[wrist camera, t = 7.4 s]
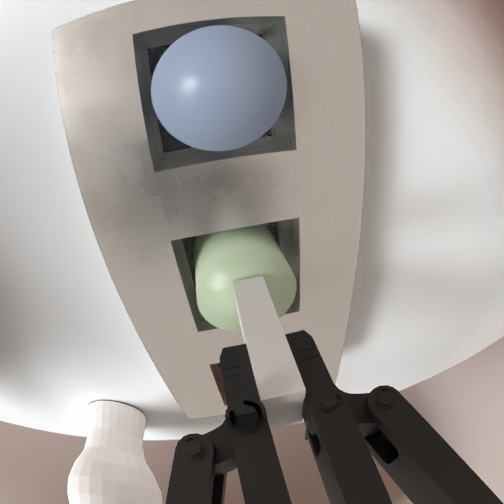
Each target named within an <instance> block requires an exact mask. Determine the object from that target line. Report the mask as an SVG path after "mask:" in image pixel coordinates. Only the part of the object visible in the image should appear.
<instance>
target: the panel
mask: <svg viewBox="0 0 504 504" xmlns="http://www.w3.org/2000/svg"><path fill="white" fill-rule="evenodd" d="M215 25H226V26H234V27H239V28H242V29H245V30H248V31H250V32H252V33H254V34H256V35H258V34H262V39H264V40H265V41H266V42H267V43H268V44H269V45H270V46H271V47H272V48H273V49H274V50H275V52H276V53H277V55H278V56H279V58H280V60H281V62H282V64H283V66H284V70H285V73H286V79H287V94H286V100H285V103H284V107H283V109H282V111H281V114H280V115H279V117H278V119H277V120H276V122H275V123H274V124H273V126H272V127H271V134H272V136H266V137H260V138H258V139H257V140H255V141H254V142H252V143H250V144H248V145H246V146H243V147H240V148H237V149H233V150H228V151H207V150H201V149H197V148H194V147H192V148H186V149H181V150H176V151H171V152H166V153H163V147H162V142H161V137H160V131H159V125H158V119H157V115H156V113H155V110H154V107H153V103H152V98H151V82H152V80H151V73H150V65H149V57H148V49H152V48H156V47H161V46H166V45H171V44H173V43H174V42H175V41H176V40H178V39H179V38H180V37H182V36H184V35H185V34H187V33H189V32H192V31H194V30H196V29H200V28H203V27H208V26H215ZM52 32H53V49H54V61H55V71H56V79H57V87H58V94H59V100H60V106H61V112H62V117H63V123H64V128H65V133H66V137H67V142H68V146H69V150H70V155H71V159H72V163H73V166H74V170H75V174H76V178H77V181H78V185H79V188H80V191H81V195H82V198H83V201H84V204H85V208H86V211H87V214H88V217H89V220H90V223H91V225H92V228H93V231H94V234H95V237H96V239H97V242H98V245H99V247H100V250H101V253H102V255H103V258H104V260H105V263H106V265H107V268H108V270H109V273H110V275H111V277H112V280H113V282H114V284H115V287H116V289H117V291H118V293H119V296H120V298H121V300H122V302H123V304H124V306H125V309H126V311H127V313H128V315H129V317H130V319H131V321H132V323H133V325H134V327H135V329H136V331H137V333H138V335H139V337H140V339H141V341H142V343H143V344H144V346H145V348H146V350H147V352H148V354H149V356H150V357H151V359H152V361H153V363H154V364H155V366H156V368H157V370H158V371H159V373H160V375H161V377H162V378H163V380H164V382H165V383H166V385H167V387H168V388H169V390H170V392H171V393H172V395H173V396H174V398H175V399H176V401H177V403H178V404H179V406H180V407H181V409H182V410H183V412H184V413H185V415H186V416H187V418H188V419H189V420H190V419H198V418H205V417H212V416H219V415H225V414H226V409H227V402H226V396H225V390H224V384H223V378H222V372H221V367H218V364H217V363H220V359H219V358H220V355H221V352H222V349H223V348H225V347H231V346H236V345H241V344H245V343H244V339H243V335H242V332H231V331H226V330H223V329H220V328H217V327H215V326H214V325H212V324H211V323H209V322H208V321H207V320H206V319H205V318H204V317H203V316H202V314H201V312H200V311H199V308H198V304H197V296H196V288H195V287H194V283H193V279H192V276H191V272H190V268H189V264H188V260H187V256H186V252H185V248H184V244H183V240H182V239H183V238H188V237H193V236H198V235H204V234H209V233H214V232H220V231H225V230H231V229H236V228H242V227H247V226H253V225H259V224H264V223H270V222H276V221H278V231H279V248H280V250H281V251H282V253H283V255H284V257H285V259H286V261H287V262H288V264H289V266H290V268H291V270H292V272H293V274H294V276H295V279H296V286H297V288H296V295H295V298H294V301H293V303H292V304H291V306H290V308H289V309H288V310H287V312H286V313H285V314H284V315H283V316H282V317H280V318H279V320H280V323H281V325H282V328H283V331H284V333H285V334H289V333H293V332H297V331H301V330H305V331H306V332H307V333H308V334H309V335H311V336H312V337H313V339H314V341H315V343H316V346H317V349H318V350H319V352H320V354H321V356H322V359H323V361H324V363H325V365H326V367H327V369H328V372H329V374H330V376H331V378H332V380H333V383H334V384H335V382H336V378H337V374H338V369H339V365H340V361H341V356H342V351H343V346H344V341H345V336H346V331H347V326H348V320H349V315H350V309H351V303H352V296H353V290H354V283H355V276H356V268H357V261H358V252H359V243H360V233H361V222H362V210H363V196H364V177H365V137H366V127H365V88H364V70H363V57H362V46H361V36H360V27H359V19H358V12H357V5H356V0H134V1H130V2H127V3H123V4H120V5H116V6H113V7H110V8H107V9H104V10H101V11H98V12H95V13H92V14H89V15H87V16H84V17H81V18H79V19H76V20H74V21H72V22H69V23H67V24H64V25H62V26H60V27H58V28H56V29H53V30H52Z"/></svg>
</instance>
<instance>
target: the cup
mask: <svg viewBox="0 0 504 504" xmlns="http://www.w3.org/2000/svg"><path fill="white" fill-rule="evenodd" d="M145 424H146V417H145V415H144V414H143V413H142V412H141V411H139V410H137V409H136V408H134V407H131V406H129V405H126V404H123V403H119V402H114V401H95V402H92V403H90V404H89V405H88V407H87V425H88V436H87V440H86V444H85V448H84V451H83V452H82V453H81V454H80V456H79V457H78V458H77V460H76V461H75V463H74V465H73V467H72V470H71V472H70V474H69V477H68V498H69V502H70V504H162V498H161V492H160V489H159V487H158V485H157V482H156V480H155V477H154V475H153V474H152V472H151V470H150V469H149V467H148V465H147V464H146V462H145V458H144V453H143V447H142V441H143V436H144V431H145Z"/></svg>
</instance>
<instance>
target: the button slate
mask: <svg viewBox="0 0 504 504" xmlns="http://www.w3.org/2000/svg"><path fill="white" fill-rule="evenodd" d="M286 94H287V79H286V73H285V70H284V66H283V64H282V62H281V60H280V58H279V56H278V55H277V53H276V52H275V50H274V49H273V48H272V47H271V46H270V45H269V44H268V43H267V42H266V41H265V40H264V39H262V38H261V37H259V36H258V35H256V34H254V33H252V32H250V31H248V30H245V29H242V28H239V27H234V26H226V25H215V26H208V27H203V28H200V29H196V30H194V31H192V32H189V33H187V34H185V35H184V36H182V37H180V38H179V39H178V40H176V41H175V42H174V43H173V44H171V46H170V47H169V48H168V49H167V50H166V51H165V52H164V54H163V55H162V56H161V58H160V60H159V61H158V63H157V65H156V68H155V70H154V73H153V77H152V82H151V98H152V103H153V107H154V110H155V113H156V115H157V117H158V119H159V120H160V122H161V124H162V125H163V126H164V128H165V129H166V130H167V131H168V132H169V133H170V134H171V135H172V136H174V137H175V138H176V139H178V140H179V141H181V142H183V143H184V144H186V145H189V146H191V147H194V148H197V149H201V150H207V151H228V150H233V149H237V148H240V147H243V146H246V145H248V144H250V143H252V142H254V141H255V140H257V139H258V138H260V137H261V136H262V135H264V134H265V133H266V132H267V131H268V130H269V129H270V128H271V127H272V126H273V124H274V123H275V122H276V120H277V119H278V117H279V115H280V114H281V111H282V109H283V107H284V103H285V100H286Z"/></svg>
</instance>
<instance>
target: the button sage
mask: <svg viewBox="0 0 504 504" xmlns="http://www.w3.org/2000/svg"><path fill="white" fill-rule="evenodd" d="M194 262H195V280H196V296H197V304H198V308H199V311H200V312H201V314H202V316H203V317H204V318H205V319H206V320H207V321H208V322H209V323H211V324H212V325H214V326H215V327H217V328H220V329H223V330H226V331H231V332H242V330H241V326H240V322H239V317H238V311H237V306H236V300H235V294H234V289H233V283H232V281H237V280H243V279H248V278H253V277H258V276H263V278H264V281H265V283H266V286H267V289H268V291H269V294H270V296H271V299H272V302H273V304H274V307H275V310H276V312H277V315H278V317H279V318H280V317H282V316H283V315H284V314H285V313H286V312H287V310H288V309H289V308H290V306H291V304H292V303H293V301H294V298H295V295H296V288H297V286H296V279H295V276H294V274H293V272H292V270H291V268H290V266H289V264H288V262H287V261H286V259H285V257H284V255H283V253H282V251H281V250H280V248H279V246H278V244H277V242H276V240H275V239H274V237H273V235H272V233H271V231H270V229H269V228H268V226H267V225H266V224H265V223H264V224H259V225H253V226H247V227H242V228H236V229H231V230H225V231H220V232H214V233H209V234H204V235H198V236H196V239H195V243H194Z"/></svg>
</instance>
